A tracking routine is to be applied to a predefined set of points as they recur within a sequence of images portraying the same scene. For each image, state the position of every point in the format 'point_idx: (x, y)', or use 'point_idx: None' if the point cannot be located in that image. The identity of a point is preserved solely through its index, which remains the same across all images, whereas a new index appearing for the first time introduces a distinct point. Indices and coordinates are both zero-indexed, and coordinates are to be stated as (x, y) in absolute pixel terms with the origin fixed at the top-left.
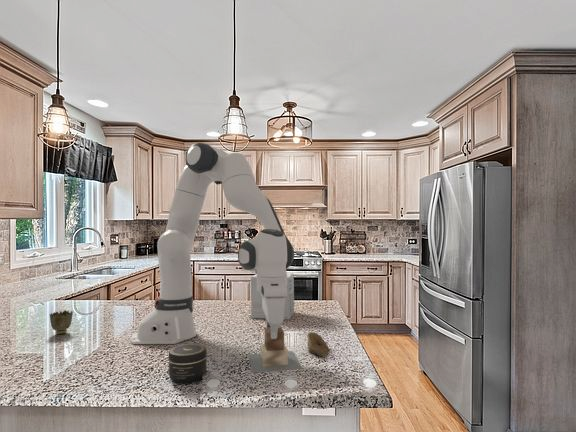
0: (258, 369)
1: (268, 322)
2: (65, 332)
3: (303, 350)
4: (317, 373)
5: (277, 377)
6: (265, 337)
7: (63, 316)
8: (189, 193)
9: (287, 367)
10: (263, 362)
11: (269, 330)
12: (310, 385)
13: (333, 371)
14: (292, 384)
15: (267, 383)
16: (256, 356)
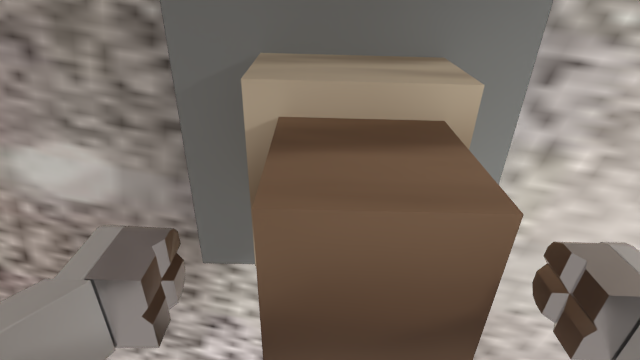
0: (211, 5)
1: (636, 318)
2: None
3: (498, 308)
4: (189, 299)
5: (145, 118)
6: (386, 161)
7: None
8: None
9: (225, 197)
10: (257, 59)
11: (374, 258)
12: (52, 247)
13: (205, 351)
14: (54, 177)
15: (52, 42)
16: (482, 26)
